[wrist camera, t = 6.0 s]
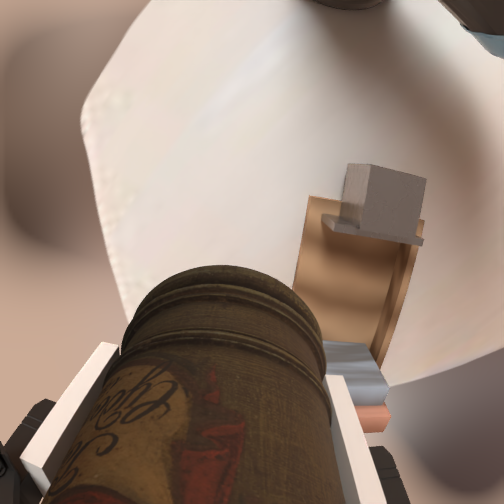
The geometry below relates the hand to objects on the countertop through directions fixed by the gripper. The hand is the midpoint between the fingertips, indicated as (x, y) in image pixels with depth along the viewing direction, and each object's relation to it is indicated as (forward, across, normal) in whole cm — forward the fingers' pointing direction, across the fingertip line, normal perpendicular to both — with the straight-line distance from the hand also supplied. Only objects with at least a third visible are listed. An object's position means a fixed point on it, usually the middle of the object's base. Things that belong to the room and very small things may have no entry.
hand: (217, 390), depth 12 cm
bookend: (+25, +13, +7) cm, 30 cm away
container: (+3, 0, 0) cm, 3 cm away
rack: (+27, +13, -6) cm, 31 cm away
